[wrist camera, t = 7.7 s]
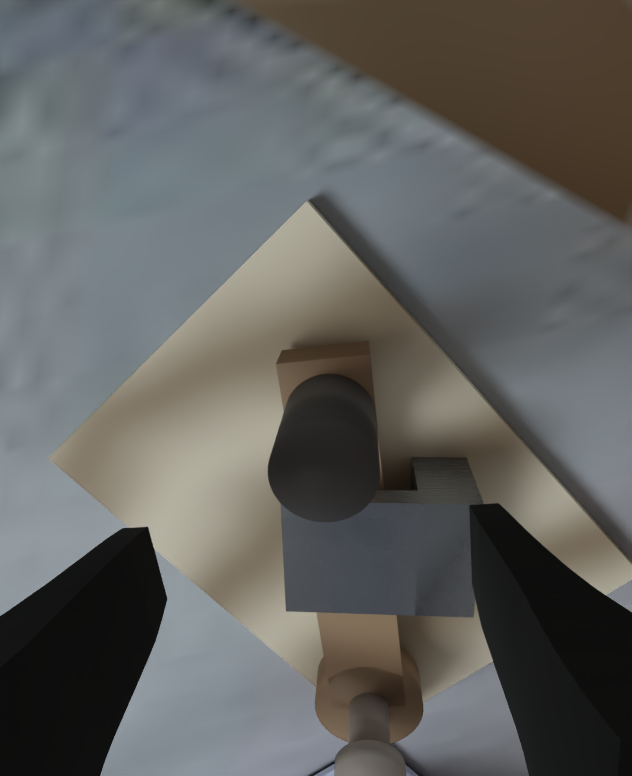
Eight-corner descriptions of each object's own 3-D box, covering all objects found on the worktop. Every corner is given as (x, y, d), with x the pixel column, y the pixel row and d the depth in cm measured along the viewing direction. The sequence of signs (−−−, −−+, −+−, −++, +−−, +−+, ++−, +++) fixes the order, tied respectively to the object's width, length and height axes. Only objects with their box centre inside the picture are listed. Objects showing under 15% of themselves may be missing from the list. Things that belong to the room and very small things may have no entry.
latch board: (631, 561, 23) (640, 574, 22) (369, 718, 27) (370, 733, 26) (308, 199, 19) (306, 201, 18) (58, 449, 23) (48, 458, 22)
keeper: (462, 447, 22) (484, 505, 18) (455, 546, 23) (473, 617, 20) (293, 445, 22) (280, 501, 18) (297, 542, 24) (285, 611, 20)
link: (422, 712, 25) (438, 845, 20) (324, 716, 26) (315, 846, 21) (389, 338, 19) (400, 397, 14) (262, 352, 20) (229, 413, 15)
